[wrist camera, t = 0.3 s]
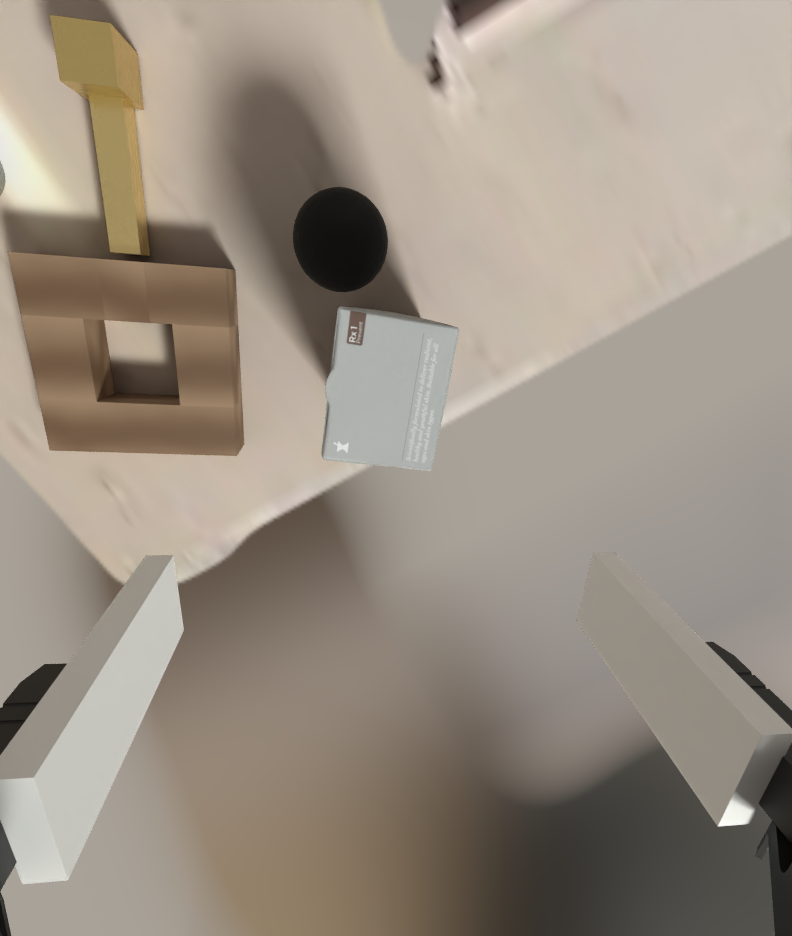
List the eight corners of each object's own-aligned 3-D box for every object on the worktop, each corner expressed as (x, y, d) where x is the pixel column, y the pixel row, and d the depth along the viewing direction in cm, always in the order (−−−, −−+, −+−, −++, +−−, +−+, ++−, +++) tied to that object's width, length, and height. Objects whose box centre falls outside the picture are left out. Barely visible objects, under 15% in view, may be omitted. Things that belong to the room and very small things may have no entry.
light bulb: (376, 294, 37) (387, 297, 28) (301, 286, 36) (287, 287, 27) (382, 211, 35) (396, 185, 26) (303, 201, 34) (288, 170, 25)
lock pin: (84, 46, 30) (49, 14, 26) (137, 53, 30) (110, 23, 26) (113, 253, 34) (86, 249, 30) (159, 256, 34) (137, 253, 31)
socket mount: (35, 254, 34) (7, 251, 31) (235, 269, 35) (226, 268, 32) (70, 438, 39) (49, 450, 36) (244, 444, 40) (236, 455, 38)
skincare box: (408, 412, 41) (444, 483, 26) (326, 401, 40) (316, 469, 25) (425, 312, 38) (476, 329, 23) (338, 297, 37) (334, 305, 22)
